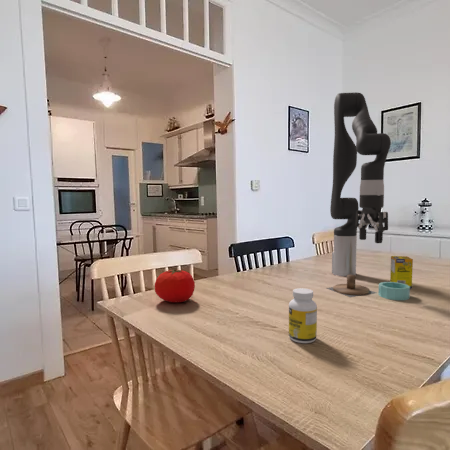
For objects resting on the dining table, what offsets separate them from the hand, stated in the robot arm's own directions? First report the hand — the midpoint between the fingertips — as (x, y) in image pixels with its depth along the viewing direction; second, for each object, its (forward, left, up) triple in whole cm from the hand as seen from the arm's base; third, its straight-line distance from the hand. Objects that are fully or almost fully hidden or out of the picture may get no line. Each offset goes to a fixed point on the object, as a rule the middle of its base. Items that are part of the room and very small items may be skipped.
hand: (370, 241), depth 113 cm
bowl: (+6, +4, -18) cm, 20 cm away
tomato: (-20, -64, -19) cm, 69 cm away
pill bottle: (+21, -43, -19) cm, 51 cm away
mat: (-5, -4, -18) cm, 19 cm away
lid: (-5, -4, -18) cm, 19 cm away
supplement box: (-3, +18, -19) cm, 26 cm away
